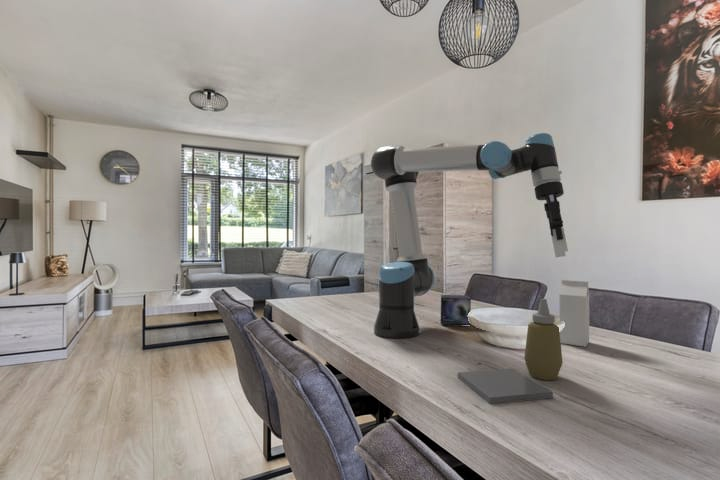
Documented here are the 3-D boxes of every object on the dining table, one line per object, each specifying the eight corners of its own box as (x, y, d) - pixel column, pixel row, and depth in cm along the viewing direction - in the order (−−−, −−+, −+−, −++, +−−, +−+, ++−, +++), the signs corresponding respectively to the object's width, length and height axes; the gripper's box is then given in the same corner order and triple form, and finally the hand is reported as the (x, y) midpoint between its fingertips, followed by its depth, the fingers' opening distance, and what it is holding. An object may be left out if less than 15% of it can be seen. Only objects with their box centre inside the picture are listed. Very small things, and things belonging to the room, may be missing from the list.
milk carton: (585, 347, 113) (586, 282, 113) (559, 343, 117) (559, 281, 117) (589, 342, 118) (589, 280, 118) (563, 338, 123) (563, 279, 123)
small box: (440, 325, 140) (441, 297, 140) (440, 321, 146) (440, 294, 146) (471, 327, 138) (471, 297, 138) (468, 322, 145) (469, 295, 145)
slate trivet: (457, 377, 89) (457, 372, 89) (512, 373, 92) (512, 368, 91) (489, 403, 75) (489, 397, 75) (552, 397, 78) (552, 391, 78)
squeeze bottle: (532, 367, 95) (532, 295, 95) (567, 376, 90) (568, 299, 89) (518, 376, 90) (518, 299, 90) (555, 385, 84) (555, 303, 84)
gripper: (563, 169, 102) (579, 247, 98) (560, 192, 125) (573, 256, 121) (532, 175, 105) (547, 252, 101) (534, 196, 128) (546, 260, 124)
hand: (561, 254), depth 111 cm, fingers open, 13 cm apart
